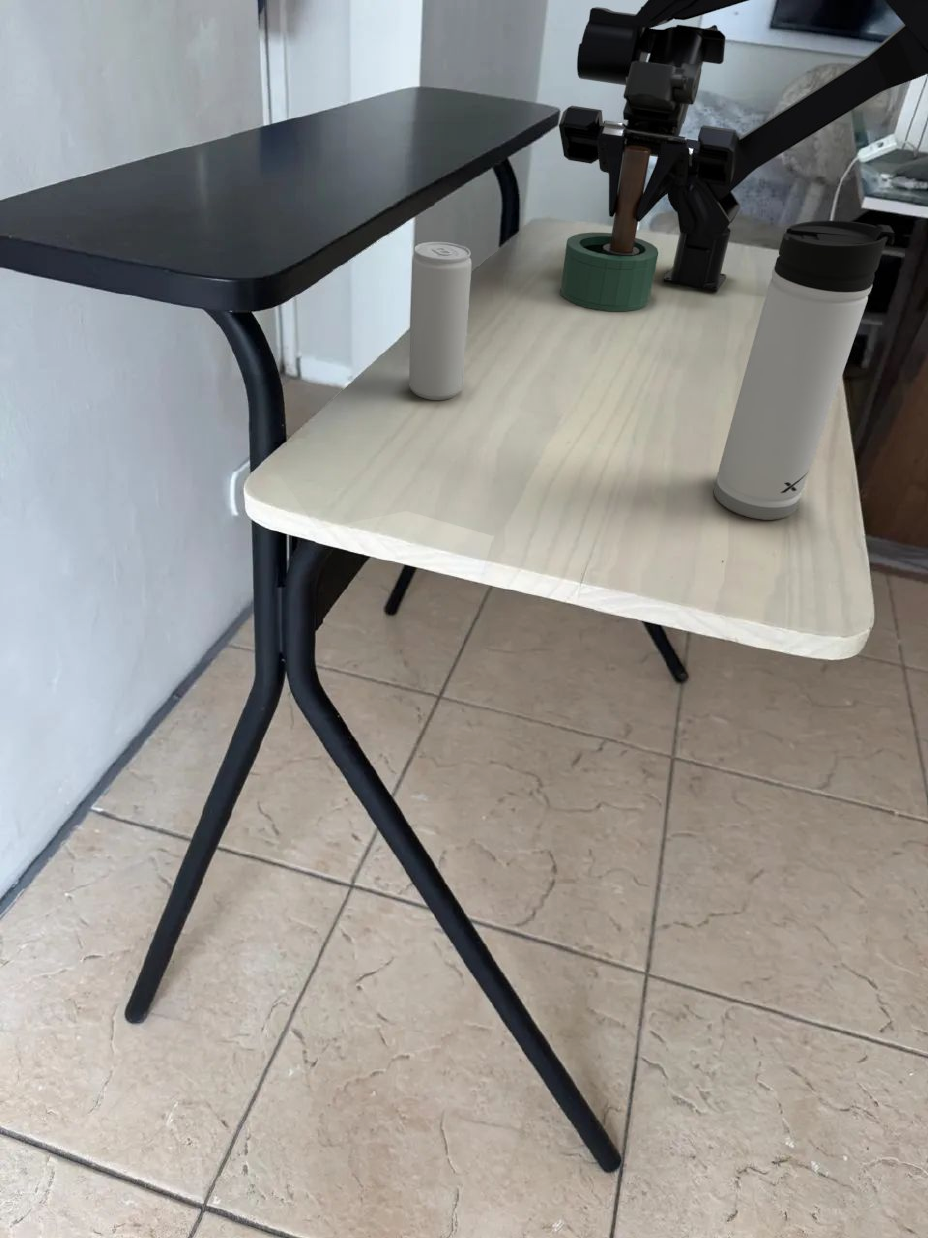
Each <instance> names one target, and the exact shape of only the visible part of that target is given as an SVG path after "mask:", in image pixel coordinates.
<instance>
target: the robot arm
mask: <svg viewBox="0 0 928 1238" xmlns="http://www.w3.org/2000/svg"><path fill="white" fill-rule="evenodd" d="M749 1H750V0H647V1H646V2H645V3H644V4H643V5H642V6H641V7H640V9H639V10H638V12H637V13H630V12H621V11H614V10H611V9H609V8H607V7H599V6H595V7H591V9H590V10H589V16H588V21H587V23H586V26H585V28H584V31H583V34H582V37H581V42H580V43H579V45H578V50H577V58H576V72H577V76H578V78H579V79H580V80H587V81H593V82H601V83H607V84H614V85H620V86H621V85H622V86H625V88H624V92H623V96H622V97H623V99H624V100H625V101H626V102H625V104H624V107H623V111H622V115H623V116H622V117H623V120H624V121H627V122H626V124H625V123H623V122H620V121H619V122H618V121H613V120H604V118H603V110H602V109H597V108H592V107H591V108H590V107H583V106H576V105H570V106H569V107H567V108H566V109H565V110H564V111H563V112H562V115H561V117H560V120H559V123H558V129H559V135H560V141H561V146H562V152H563V157H564V158H566V159H567V160H568V161H572V162H577V163H585V164H590V165H591V164H593V163H595V162H597V161H598V163H599V164H598V165H599V170H600V171H601V172H602V173H606V174H608V216H609V217H610V218H614V216H615V210H616V204H617V198H618V191H619V185H620V179H621V173H622V167H623V160H624V154H625V148H626V147H627V146H642V147H646V148H649V149H650V150H651V152H650V157H656V162H655V164H654V167H653V170H652V172H651V174H650V177H649V179H648V182H647V184H646V185H645V187H644V192H643V195H642V198H641V200H640V203H639V206H638V209H637V213H636V221H637V222H638V223H639V222H641V221H642V220H643V219H644V218H645V217H646V216H647V215H648V213H649V212H650V211H651V210H653V208H654V207H655V206H656V205H657V204H658V203H659V202H660V201H661V200H662V199H663V198H664V197H665V196H667V199H668V202H669V205H670V206H671V208H672V209H673V210H674V211H675V213H677V221H678V229H679V235H678V241H677V244H676V250H675V254H674V259H673V264H672V267H671V268H670V269H669V270H668V272H666V275H664V277H663V279H662V282H663V283H665V284H668V285H669V284H670V285H673V286H674V285H675V286H679V287H684V288H688V289H695V290H699V291H703V292H709V293H717V292H718V291H719V290H720V288H721V287H722V285H723V284H724V282H725V280H726V278H727V274H725V273H722V270H723V266H724V263H725V262H724V261H725V258H726V253H727V249H728V245H729V241H730V237H731V236H730V235H731V233H732V230H731V228H729V225H731V224H732V222H733V221H734V219H735V217H736V216H737V214H738V212H739V211H740V209H741V204H740V202H739V200H737V198H736V196H735V194H734V193H733V191H734V189H735V188H736V187H738V186H739V185H740V184H741V183H742V182H743V181H745V179H747V178H748V176H750V175H751V174H752V173H753V172H754V171H755V170H757V169H758V168H760V167H762V166H763V165H765V164H766V163H768V162H769V161H771V160H773V159H775V158H776V157H778V156H780V155H781V154H783V153H784V152H786V151H788V150H789V149H790V148H792V147H794V146H795V145H798V144H799V143H800V142H802V141H804V140H806V139H807V138H808V137H811V136H812V135H814V134H816V133H817V132H818V131H820V130H822V129H824V128H825V127H827V126H828V125H830V124H831V123H833V122H835V121H836V120H838V119H840V118H841V117H843V116H845V115H846V114H848V113H849V112H851V111H853V110H854V109H856V108H858V107H859V106H860V105H862V104H864V103H866V102H867V101H869V100H870V99H872V98H874V97H875V96H877V95H879V94H880V93H883V92H884V91H886V90H887V91H888V90H889V89H893V88H894V87H898V86H900V85H902V84H905V83H908V82H911V81H914V80H916V79H920V78H921V77H923V76H924V77H925V76H926V75H928V0H884V1H885V2H886V4H887V5H888V6H889V8H890V9H891V10H892V11H893V12H894V13H895V15H896V16H897V17H898V19H899V20H900V21H901V22H902V24H901V25H900V26H899V27H898V28H897V29H895V30H894V31H893V32H892V33H891V34H890V35H889V36H888V37H887V38H885V39H884V40H883V41H882V42H881V43H880V44H879V45H878V46H876V47H875V49H873V50H872V51H871V52H870V53H869V54H867V55H866V56H864V57H862V58H861V59H860V60H858V61H857V62H855V63H853V64H852V65H850V66H849V67H847V68H846V69H844V70H843V71H841V72H840V73H838V74H836V75H835V76H833V77H831V78H830V79H829V80H827V81H826V82H824V83H822V84H820V86H818V87H816V88H815V89H813V90H811V91H810V92H808V93H807V94H805V95H803V96H802V97H800V98H799V99H798V100H796V101H795V102H792V104H790V105H788V106H787V107H785V108H784V109H782V110H780V111H779V112H778V113H776V114H774V115H773V116H771V117H770V118H768V119H766V120H765V121H763V122H761V123H760V124H759V125H756V127H754V128H753V129H751V130H749V131H748V132H746V133H744V134H742V135H739V134H738V131H737V130H736V129H731V128H725V127H718V126H712V125H704V124H703V125H702V126H701V127H700V129H699V132H698V135H697V139H691V138H688V137H687V136H682V135H680V134H681V132H682V128H683V126H684V124H685V121H686V118H687V115H688V114H687V112H688V110H689V107H690V106H692V105H694V104H695V101H696V99H697V95H698V90H699V85H700V81H701V76H702V67H703V64H704V63H708V64H715V65H721V64H723V63H724V60H725V50H726V35H725V34H724V33H723V32H722V31H721V30H719V29H718V26H717V25H716V24H713V25H712V26H709V27H707V28H704V27H703V28H702V27H699V26H692V25H686V24H685V25H684V24H676V25H675V26H670V27H666V28H663V29H661V28H660V29H658V28H656V27H659V26H662V25H665V24H667V23H669V22H671V21H673V20H677V21H686V20H690V19H693V18H696V17H700V16H703V15H707V14H710V13H713V12H716V11H719V10H723V9H726V8H730V7H733V6H735V5H740V4H742V3H745V2H749Z"/></svg>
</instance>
